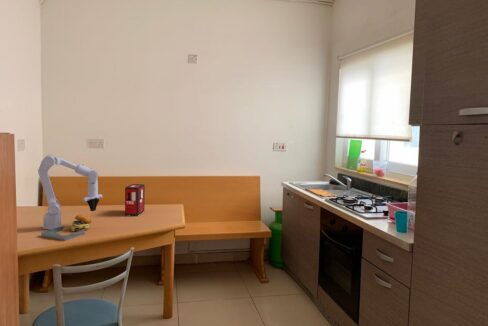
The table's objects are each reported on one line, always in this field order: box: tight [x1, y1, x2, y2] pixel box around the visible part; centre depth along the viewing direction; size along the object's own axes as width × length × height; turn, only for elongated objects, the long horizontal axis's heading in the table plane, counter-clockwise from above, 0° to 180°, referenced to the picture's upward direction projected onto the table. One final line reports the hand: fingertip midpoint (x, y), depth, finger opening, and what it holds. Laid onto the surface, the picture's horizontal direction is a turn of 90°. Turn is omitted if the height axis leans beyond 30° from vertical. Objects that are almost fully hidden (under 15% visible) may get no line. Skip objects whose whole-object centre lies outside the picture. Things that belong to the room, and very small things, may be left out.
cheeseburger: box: [70, 214, 92, 233], centre depth 224 cm, size 10×11×10 cm
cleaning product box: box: [124, 183, 146, 217], centre depth 269 cm, size 16×9×20 cm, turn 179°
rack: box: [40, 225, 86, 241], centre depth 212 cm, size 17×14×3 cm
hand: (93, 210), depth 233 cm, fingers closed
